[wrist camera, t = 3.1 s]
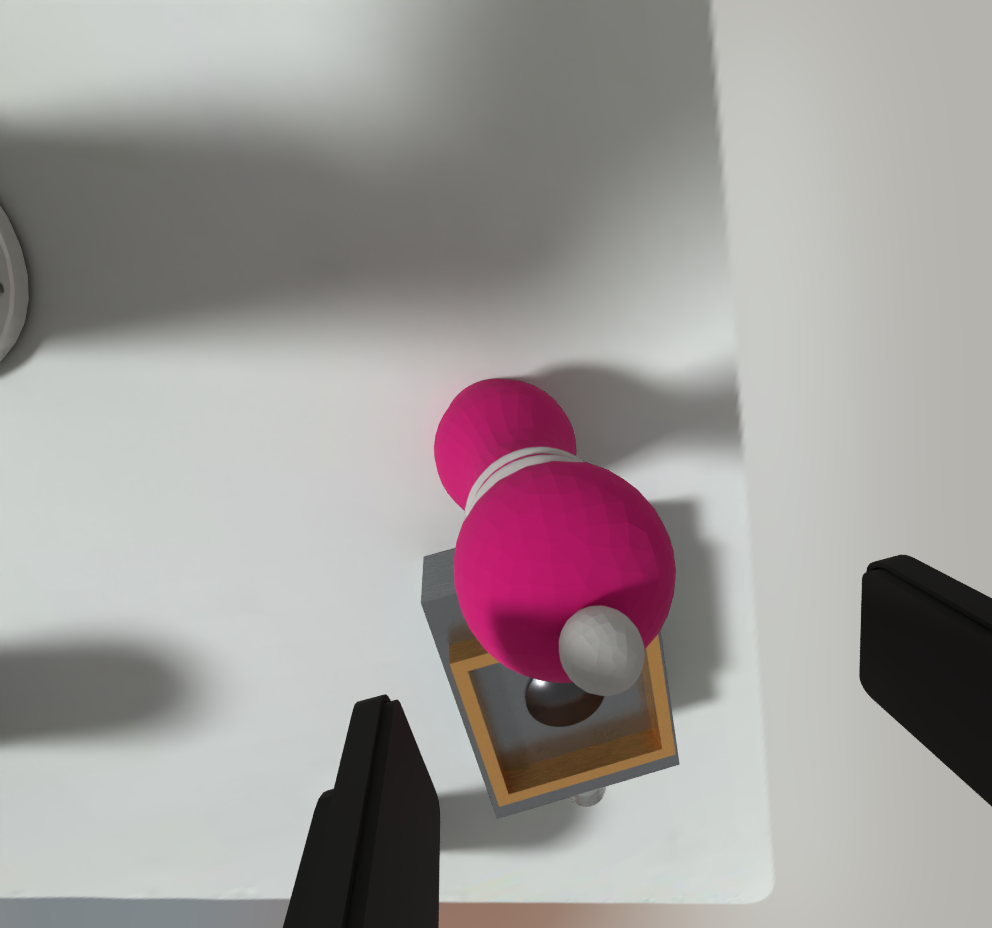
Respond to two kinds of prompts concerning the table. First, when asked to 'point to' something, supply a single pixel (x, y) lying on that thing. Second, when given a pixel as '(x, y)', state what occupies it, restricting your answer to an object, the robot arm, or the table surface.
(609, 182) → the table surface
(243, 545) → the table surface
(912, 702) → the robot arm
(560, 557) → the pepper mill
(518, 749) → the grey box with recess
